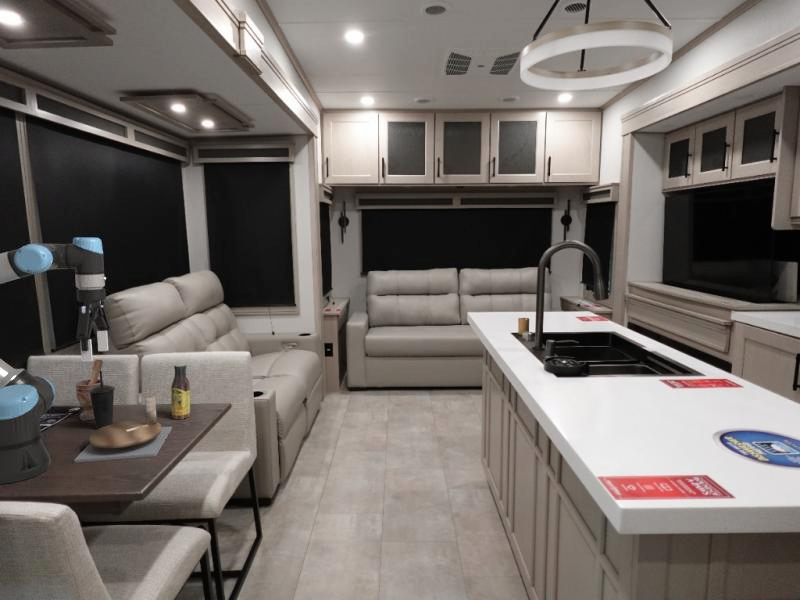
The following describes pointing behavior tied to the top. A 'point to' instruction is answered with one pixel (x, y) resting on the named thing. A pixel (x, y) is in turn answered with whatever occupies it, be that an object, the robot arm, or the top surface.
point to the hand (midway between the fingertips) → (95, 355)
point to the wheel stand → (125, 449)
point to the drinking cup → (102, 403)
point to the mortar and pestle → (84, 388)
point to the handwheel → (128, 430)
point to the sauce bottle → (180, 393)
